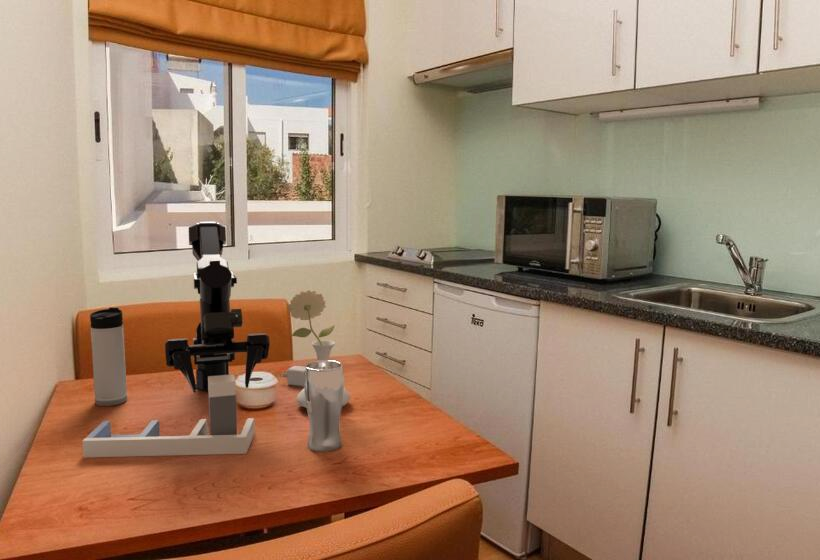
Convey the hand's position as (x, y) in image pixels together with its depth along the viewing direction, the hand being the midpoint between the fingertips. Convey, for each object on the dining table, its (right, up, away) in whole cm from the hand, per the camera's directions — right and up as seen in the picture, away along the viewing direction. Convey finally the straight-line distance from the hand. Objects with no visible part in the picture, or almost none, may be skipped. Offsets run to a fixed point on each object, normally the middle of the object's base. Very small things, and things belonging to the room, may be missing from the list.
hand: (221, 389), depth 115 cm
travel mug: (-30, -6, +21) cm, 37 cm away
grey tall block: (+1, -10, -1) cm, 10 cm away
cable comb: (-8, -10, -1) cm, 13 cm away
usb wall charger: (+7, -5, +35) cm, 36 cm away
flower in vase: (+15, -7, +19) cm, 26 cm away
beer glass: (+19, -10, -1) cm, 22 cm away
